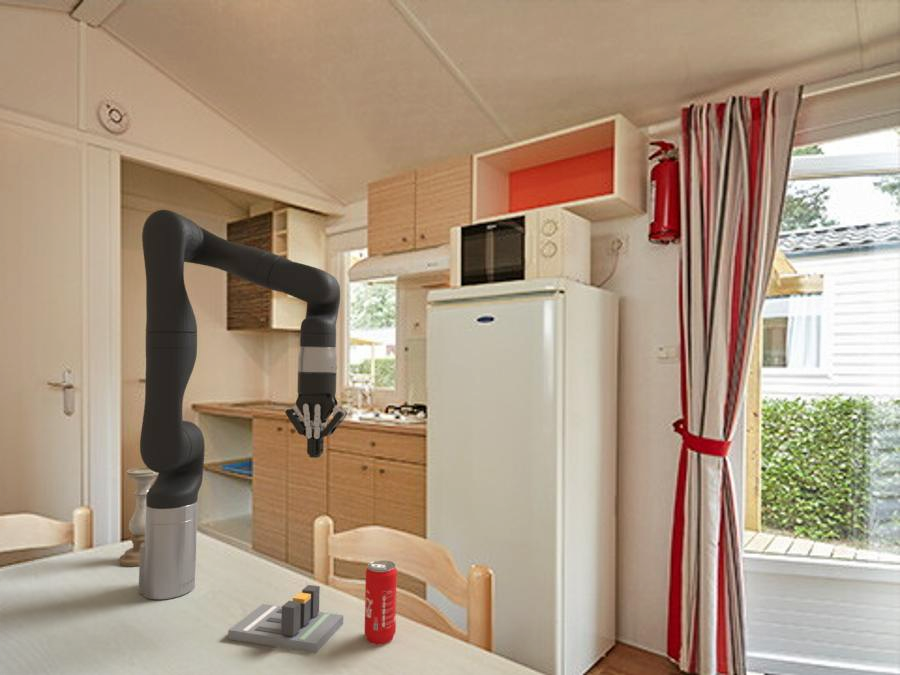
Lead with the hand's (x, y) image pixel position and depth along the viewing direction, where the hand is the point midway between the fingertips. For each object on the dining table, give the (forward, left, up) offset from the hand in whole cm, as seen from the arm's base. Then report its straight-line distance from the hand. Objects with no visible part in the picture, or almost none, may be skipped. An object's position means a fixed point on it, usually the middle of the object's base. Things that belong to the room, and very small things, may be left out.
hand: (315, 456), depth 109 cm
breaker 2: (+6, -14, -25) cm, 30 cm away
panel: (+3, -14, -27) cm, 31 cm away
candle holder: (-46, +6, -27) cm, 54 cm away
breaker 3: (+6, -11, -25) cm, 28 cm away
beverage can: (+19, -12, -27) cm, 35 cm away
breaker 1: (+6, -17, -25) cm, 31 cm away
